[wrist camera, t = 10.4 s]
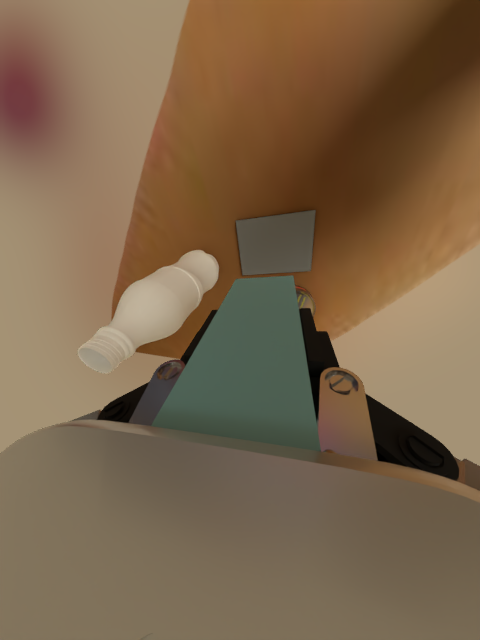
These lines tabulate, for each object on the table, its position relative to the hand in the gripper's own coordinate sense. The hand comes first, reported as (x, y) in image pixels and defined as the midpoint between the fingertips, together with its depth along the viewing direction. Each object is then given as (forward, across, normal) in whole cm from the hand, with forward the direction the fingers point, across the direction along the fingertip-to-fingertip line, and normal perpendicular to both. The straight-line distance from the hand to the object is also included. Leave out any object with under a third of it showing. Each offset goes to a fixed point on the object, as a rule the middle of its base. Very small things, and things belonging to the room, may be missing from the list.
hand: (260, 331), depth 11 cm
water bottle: (+24, +13, +2) cm, 28 cm away
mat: (+24, 0, 0) cm, 24 cm away
